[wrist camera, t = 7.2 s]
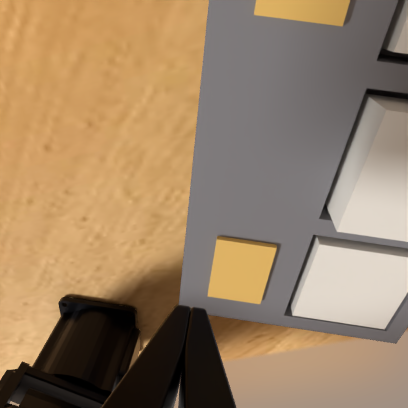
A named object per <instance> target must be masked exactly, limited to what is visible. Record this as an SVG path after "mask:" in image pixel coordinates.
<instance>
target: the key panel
mask: <svg viewBox="0 0 408 408" xmlns="http://www.w3.org/2000/svg"><path fill="white" fill-rule="evenodd" d="M397 3H398V0H209V6H208V16H207V26H206V36H205V46H204V56H203V66H202V76H201V86H200V96H199V106H198V116H197V126H196V136H195V146H194V156H193V167H192V177H191V187H190V197H189V207H188V217H187V227H186V237H185V247H184V257H183V267H182V277H181V287H180V297H179V305H185V306H189V307H190V308H192V307H199V308H204V309H206V311H207V314H208V315H213V316H220V317H226V318H233V319H239V320H246V321H252V322H259V323H265V324H272V325H278V326H285V327H291V328H298V329H304V330H311V331H317V332H324V333H330V334H337V335H343V336H350V337H357V338H363V339H370V340H376V341H383V342H390V343H397V342H398V340H399V339H400V338H401V336H402V335H403V333H404V332H405V330H406V329H407V327H408V293H407V295H406V296H405V298H404V299H403V301H402V302H401V304H400V306H399V307H398V309H397V310H396V312H395V313H394V315H393V317H392V318H391V320H390V321H389V323H388V324H387V326H386V328H385V329H379V328H372V327H365V326H359V325H352V324H346V323H339V322H333V321H326V320H320V319H313V318H306V317H300V316H293V315H292V310H291V304H290V297H291V295H292V292H293V289H294V286H295V284H296V281H297V278H298V275H299V272H300V270H301V267H302V264H303V261H304V259H305V256H306V253H307V250H308V248H309V245H310V242H311V239H312V237H313V235H320V236H326V237H333V238H340V239H347V240H354V241H361V242H368V243H374V244H381V245H388V246H395V247H402V248H408V242H405V241H398V240H391V239H384V238H377V237H371V236H364V235H357V234H350V233H343V232H337V231H336V228H335V226H334V223H333V221H332V219H331V216H330V214H329V211H328V209H327V206H326V204H325V202H326V199H327V196H328V194H329V191H330V188H331V185H332V183H333V180H334V177H335V174H336V172H337V169H338V166H339V163H340V161H341V158H342V155H343V152H344V150H345V147H346V144H347V141H348V139H349V136H350V133H351V130H352V128H353V125H354V122H355V119H356V117H357V114H358V111H359V108H360V106H361V103H362V100H363V97H364V95H365V94H372V95H379V96H386V97H394V98H401V99H408V54H404V53H397V52H392V51H389V50H386V49H383V48H381V47H382V44H383V41H384V39H385V36H386V33H387V30H388V28H389V25H390V22H391V19H392V17H393V14H394V11H395V8H396V6H397Z"/></svg>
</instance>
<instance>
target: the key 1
mask: <svg viewBox="0 0 408 408" xmlns="http://www.w3.org/2000/svg"><path fill="white" fill-rule="evenodd" d="M407 293H408V248H402V247H395V246H388V245H381V244H374V243H368V242H361V241H354V240H347V239H340V238H333V237H326V236H320V235H313V237H312V239H311V242H310V245H309V248H308V250H307V253H306V256H305V259H304V261H303V264H302V267H301V270H300V272H299V275H298V278H297V281H296V284H295V286H294V289H293V292H292V295H291V297H290V304H291V310H292V315H293V316H300V317H306V318H313V319H320V320H326V321H333V322H339V323H346V324H352V325H359V326H365V327H372V328H379V329H385V328H386V326H387V324H388V323H389V321H390V320H391V318H392V317H393V315H394V313H395V312H396V310H397V309H398V307H399V306H400V304H401V302H402V301H403V299H404V298H405V296H406V295H407Z"/></svg>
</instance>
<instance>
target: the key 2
mask: <svg viewBox="0 0 408 408" xmlns="http://www.w3.org/2000/svg"><path fill="white" fill-rule="evenodd" d="M381 48H383V49H386V50H389V51H392V52H397V53H404V54H408V0H398V3H397V6H396V8H395V11H394V14H393V17H392V19H391V22H390V25H389V28H388V30H387V33H386V36H385V39H384V41H383V44H382V47H381Z"/></svg>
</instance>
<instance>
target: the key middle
mask: <svg viewBox="0 0 408 408" xmlns="http://www.w3.org/2000/svg"><path fill="white" fill-rule="evenodd" d="M325 204H326V206H327V209H328V211H329V214H330V216H331V219H332V221H333V223H334V226H335V228H336V231H337V232H343V233H350V234H357V235H364V236H371V237H377V238H384V239H391V240H398V241H405V242H408V99H401V98H394V97H386V96H379V95H372V94H365V95H364V97H363V100H362V103H361V106H360V108H359V111H358V114H357V117H356V119H355V122H354V125H353V128H352V130H351V133H350V136H349V139H348V141H347V144H346V147H345V150H344V152H343V155H342V158H341V161H340V163H339V166H338V169H337V172H336V174H335V177H334V180H333V183H332V185H331V188H330V191H329V194H328V196H327V199H326V202H325Z"/></svg>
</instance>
